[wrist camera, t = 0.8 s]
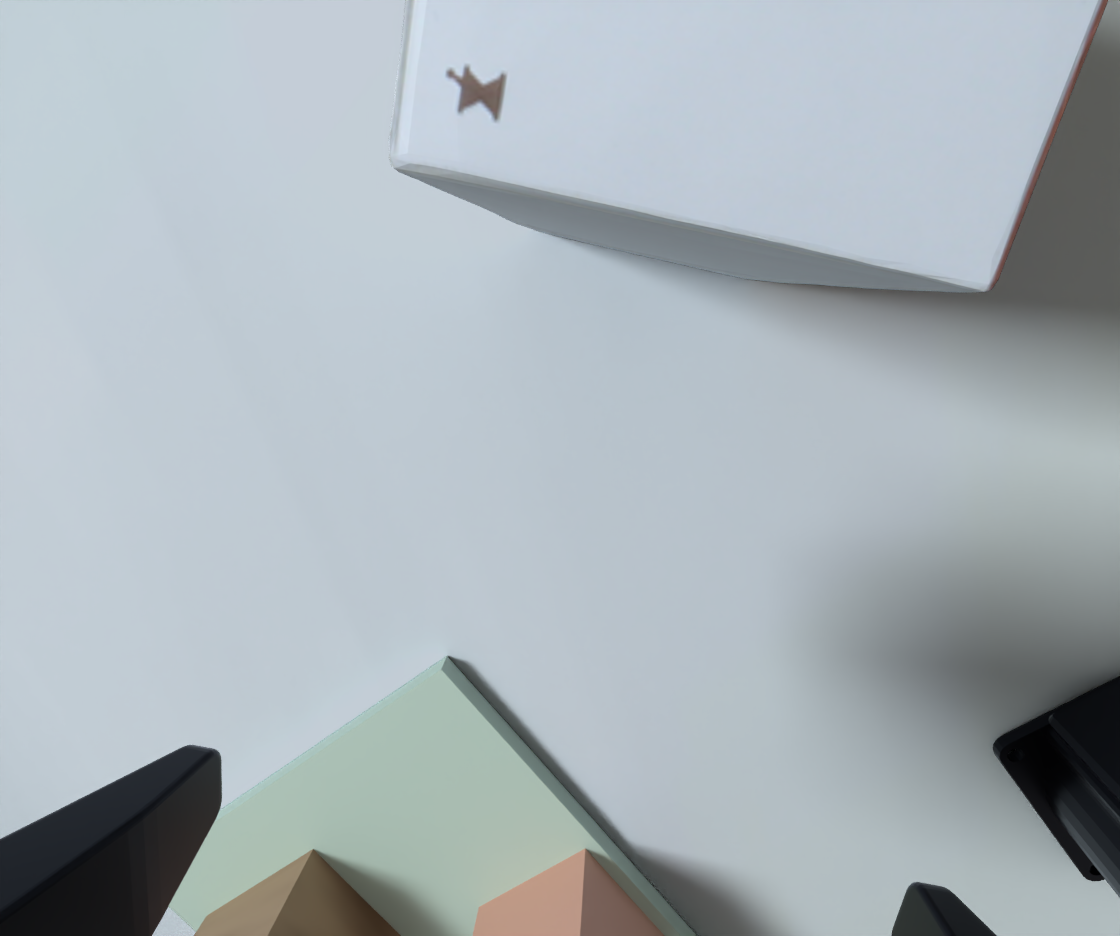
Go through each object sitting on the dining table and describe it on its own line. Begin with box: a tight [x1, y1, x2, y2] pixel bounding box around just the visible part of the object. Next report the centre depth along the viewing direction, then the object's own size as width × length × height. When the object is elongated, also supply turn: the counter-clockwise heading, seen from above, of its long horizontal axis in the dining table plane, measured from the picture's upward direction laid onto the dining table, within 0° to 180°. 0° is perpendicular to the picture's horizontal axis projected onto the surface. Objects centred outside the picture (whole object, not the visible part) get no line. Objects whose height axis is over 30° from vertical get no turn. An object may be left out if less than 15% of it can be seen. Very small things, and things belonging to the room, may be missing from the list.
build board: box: [168, 656, 697, 936], centre depth 26 cm, size 16×16×1 cm
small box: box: [389, 0, 1108, 292], centre depth 12 cm, size 8×6×13 cm
